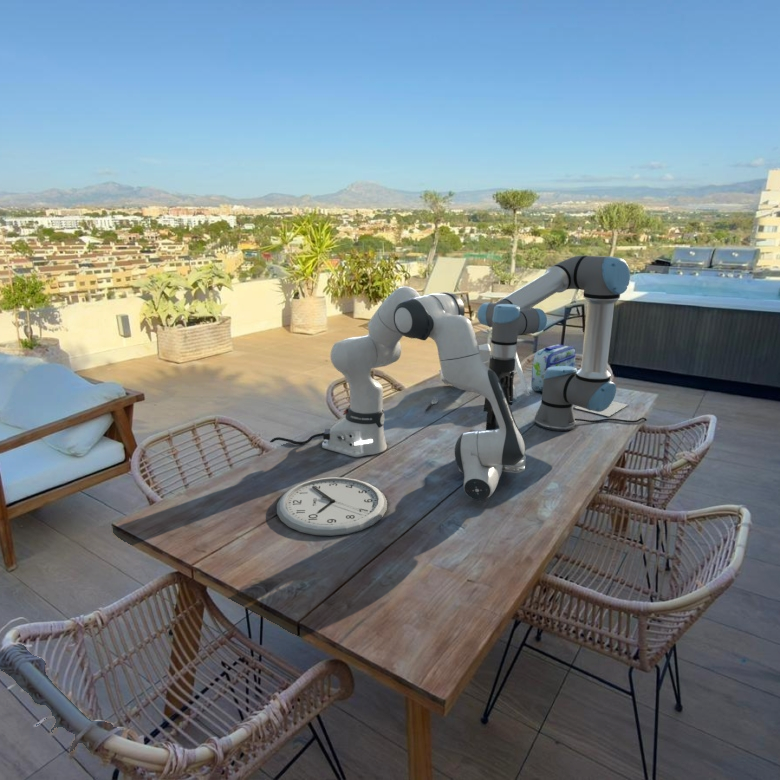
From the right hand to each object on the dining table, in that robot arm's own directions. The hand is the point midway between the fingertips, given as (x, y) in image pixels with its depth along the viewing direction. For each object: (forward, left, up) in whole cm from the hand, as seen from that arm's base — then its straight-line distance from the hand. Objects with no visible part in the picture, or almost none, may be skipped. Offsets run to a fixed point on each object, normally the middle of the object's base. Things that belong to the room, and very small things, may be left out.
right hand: (496, 428), depth 163 cm
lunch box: (-34, -92, -14) cm, 99 cm away
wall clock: (+46, +30, -14) cm, 56 cm away
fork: (+22, -57, -14) cm, 63 cm away
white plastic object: (+1, -81, -14) cm, 82 cm away
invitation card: (-51, -69, -14) cm, 86 cm away
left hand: (0, -1, -7) cm, 7 cm away
